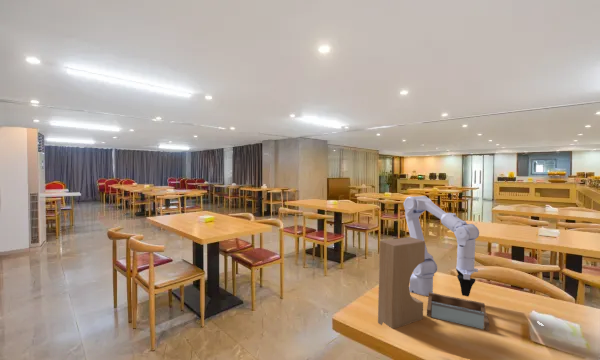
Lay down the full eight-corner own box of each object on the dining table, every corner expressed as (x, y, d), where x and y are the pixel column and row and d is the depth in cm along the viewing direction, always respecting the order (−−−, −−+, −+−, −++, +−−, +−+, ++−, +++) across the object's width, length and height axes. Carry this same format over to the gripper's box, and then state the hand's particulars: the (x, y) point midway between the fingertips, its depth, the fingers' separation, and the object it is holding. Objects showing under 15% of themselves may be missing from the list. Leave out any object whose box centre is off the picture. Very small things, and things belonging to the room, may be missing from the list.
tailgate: (431, 317, 102) (431, 302, 101) (431, 315, 103) (431, 301, 102) (483, 329, 94) (484, 313, 94) (483, 327, 95) (483, 312, 95)
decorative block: (392, 333, 94) (394, 246, 93) (377, 322, 100) (379, 240, 99) (423, 322, 100) (425, 241, 99) (406, 313, 107) (409, 236, 106)
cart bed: (426, 320, 102) (427, 306, 102) (428, 304, 114) (428, 292, 114) (488, 335, 93) (489, 320, 93) (483, 315, 106) (484, 303, 105)
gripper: (480, 263, 96) (479, 302, 97) (475, 252, 109) (474, 286, 110) (457, 260, 99) (456, 297, 100) (455, 250, 112) (454, 283, 113)
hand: (464, 291), depth 105 cm, fingers open, 7 cm apart
